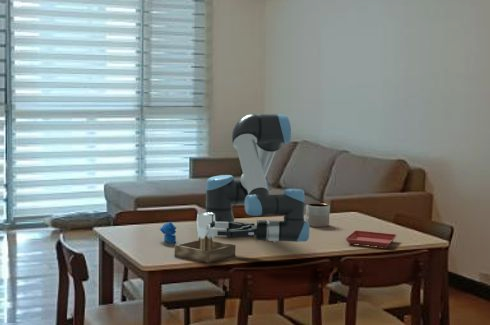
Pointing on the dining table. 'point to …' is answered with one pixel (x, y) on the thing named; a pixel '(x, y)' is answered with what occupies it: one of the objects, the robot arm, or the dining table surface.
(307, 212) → the planter
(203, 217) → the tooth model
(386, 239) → the plant saucer
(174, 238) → the blue figurine
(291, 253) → the dining table surface
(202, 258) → the crate
